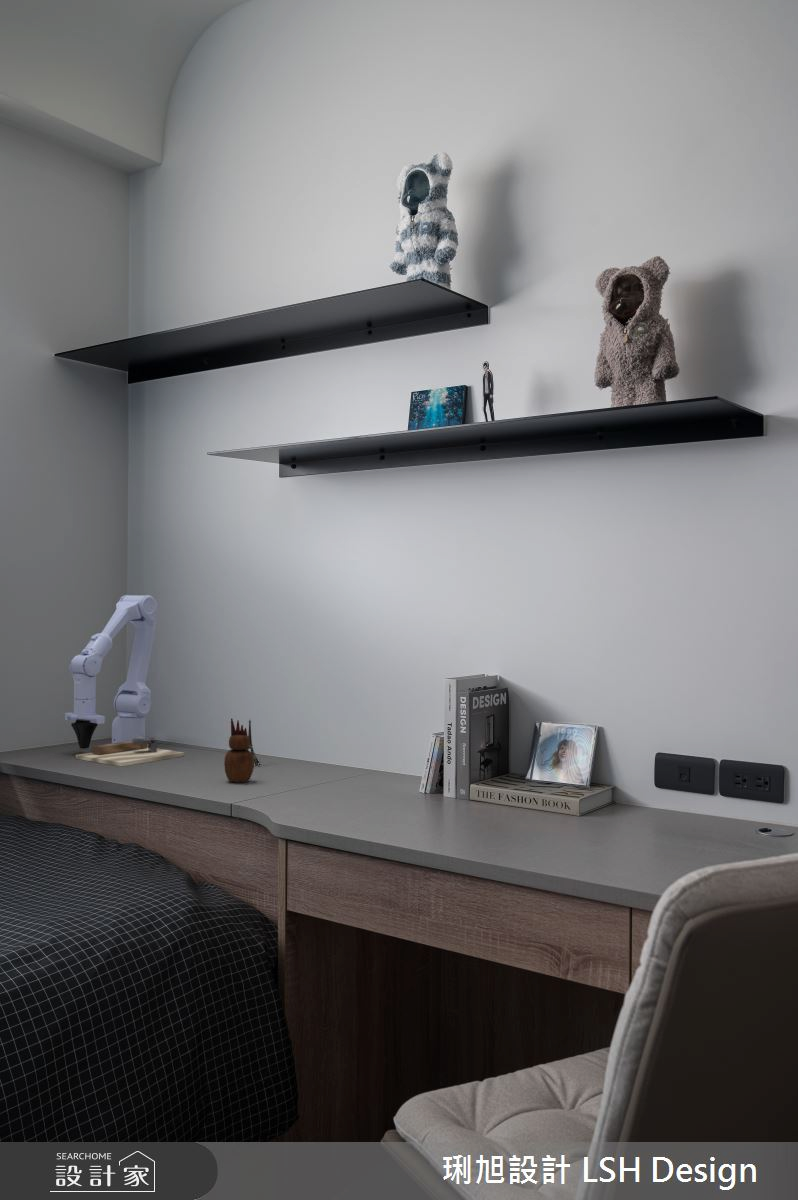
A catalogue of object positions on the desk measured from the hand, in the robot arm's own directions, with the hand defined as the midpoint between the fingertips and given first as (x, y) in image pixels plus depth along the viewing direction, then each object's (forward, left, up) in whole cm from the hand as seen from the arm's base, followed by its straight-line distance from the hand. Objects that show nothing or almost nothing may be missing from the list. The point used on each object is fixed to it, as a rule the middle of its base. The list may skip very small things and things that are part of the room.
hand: (84, 748), depth 264 cm
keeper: (+13, +10, -1) cm, 16 cm away
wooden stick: (+7, +7, -1) cm, 10 cm away
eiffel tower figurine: (+46, +17, -3) cm, 49 cm away
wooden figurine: (+60, 0, -2) cm, 60 cm away
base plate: (+13, +6, -2) cm, 14 cm away
